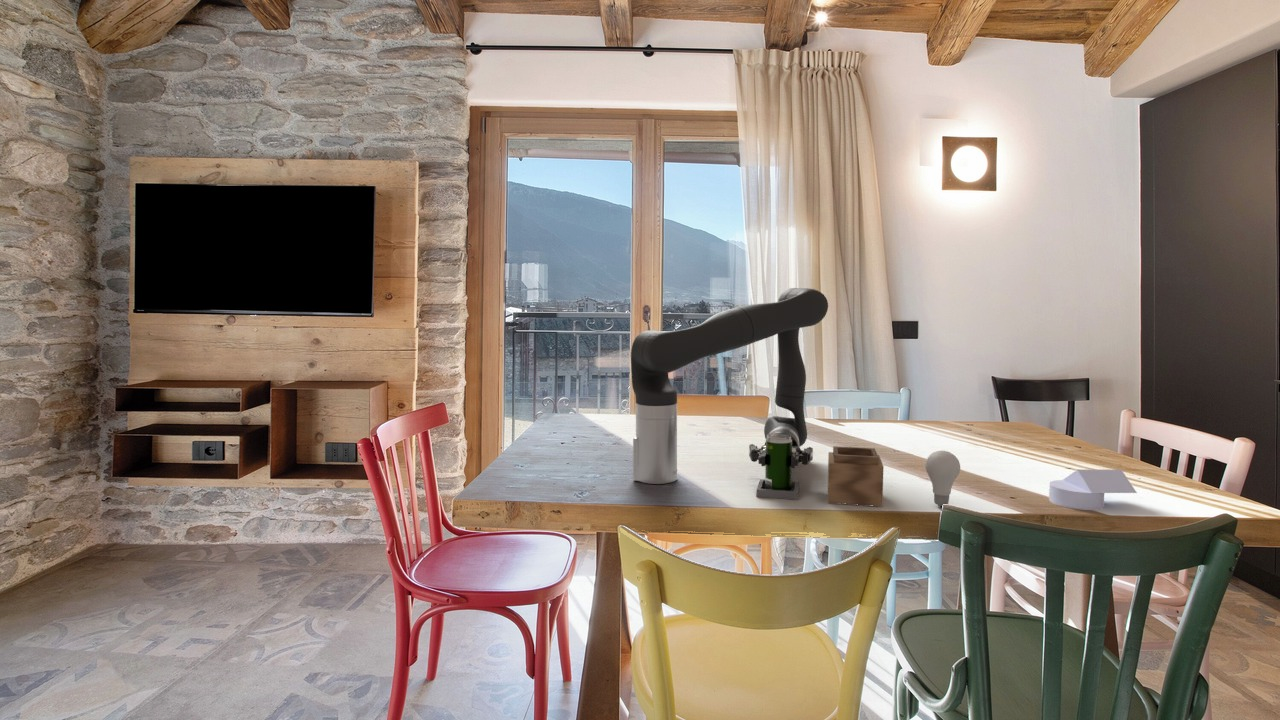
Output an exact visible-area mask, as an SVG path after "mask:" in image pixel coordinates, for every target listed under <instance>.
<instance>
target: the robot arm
mask: <svg viewBox="0 0 1280 720" xmlns="http://www.w3.org/2000/svg"><path fill="white" fill-rule="evenodd" d="M828 309H829V301H828V299H827V297H826V295H824V293H822V292H821V291H819V290H817V289H815V288H808V287H807V288H802V287H790V288H787V289H785V290H783V291H782V293H781V294H780V295H779V297H778V299H777V301H775V302H767V303H766V302H765V303H764V302H763V303H755V304H753V303H752V304H747V305H740V306H736V307H732V308H730V309H726V310H723V311H722V310H721V311H720V312H717V313H715V314H713V315H712V316H710V317H709V318H706V320H705V321H703V322H701V323H700V324H697V325H695V326H692V327H688V328H683V329H677V330H670V331H669V330H668V331H664V330H654V329H653V330H645V331H642V332H639V334H637V336H636V337H635V338H634V340H633V342H632V345H631V351H630V367H631V368H630V369H631V386H632V390H633V394H634V396H635V437H633V439H632V454H633V455H632V460H633V461H632V462H633V464H632V466H633V467H632V468H633V469H632V470H633V472H632V475H633V477H632V480H633V482H634V481H635V482H636V481H637V482H640V483H643V484H651V485H652V484H654V485H655V484H656V485H661V484H663V485H664V484H670V483H673V482H675V481H677V480H678V392H677V390H676V388H674V386H673V385H672V383H671V381H670V379H669V373H672V372H674V371H677V370H679V369H681V368H683V367H686V366H688V365H689V364H692V363H694V362H696V361H698V360H701V359H703V358H706V357H710V356H711V357H712V356H714V355H718V354H723V353H725V352H728V351H733V350H736V349H741V348H742V347H746V346H749V345H751V344H753V343H756V342H759V341H762V340H766V339H768V338H770V337H773V336H777V348H778V349H777V351H778V364H777V365H778V367H777V379H776V389H775V396H774V397H775V399H774V403H775V405H776V406H777V407H779V408H782V409H785V410H787V411H789V412H791V413H792V414H793V417H794V418H792V417H785V416H777V415H776V416H775V415H774V416H771V417H769V418H767V420H766V422H765V424H764V429H763V433H764V438H765V440H766V438H767V435H768V434H773V433H780V434H788V435H790V436H791V439H792V457H791V468H792V469H795V468H796V467H798V466H799V465H800V463H801V464H802V465H804V466H806V465H809V464H810V463H811V462H812V461H813V458H814V457H813V455H814V448H813V447H810V446H809V447H806V448H803V450H802V449H801V447H802V446H803V445H804V444H805V443H806V442H807V438H808V429H807V423H806V418H805V411H804V410H805V408H804V407H805V406H804V402H805V393H806V383H807V374H806V373H807V372H806V368H805V367H806V366H805V364H804V359H803V357H802V353H801V349H800V343H799V333H800V329H802V328H808V327H813V326H815V325H817V324H819V323H820V322H821V321H822V320H823V319H824V318H825V316H826V315H827V313H828ZM748 456H749V458H750V461H751V462H753V463H756V462H758V464H759V465H761V467H766V441H765V442H764V445H762V446H761V447H758V446H757V445H755V444H754V443H750V444H749V446H748Z"/></svg>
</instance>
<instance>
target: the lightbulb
mask: <svg viewBox="0 0 1280 720" xmlns="http://www.w3.org/2000/svg"><path fill="white" fill-rule="evenodd" d="M925 470H926V473H927V476H928V477H929V479H930V481H931V485H932V492H933V503H934V504H935V505H937V506H938V507H939V506H940V508H942V507H941V506H942V505H943V504H948V505H949V502H950V495H951V494H952V493H951V492H952V488H953V484H954V482H955V481H956V479H957V478H958V477H959V474H960V472H961V463H960V460H959V458H958V457H957V456H956V455H955V454H953V453H952V452H950V451H948V450H947V451H946V450H937V451H934V452H932V453H931V454H930V455H929V456H928V457H927V459H926V460H925Z"/></svg>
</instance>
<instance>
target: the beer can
mask: <svg viewBox="0 0 1280 720" xmlns="http://www.w3.org/2000/svg"><path fill="white" fill-rule="evenodd" d="M765 442H766V464H765V466H764V468H765V478H764V479H765V487H764V489H772V490H786V491H792V489H791V485H792V481H793V480H792V477H793V476H792V475H793V474H792V471H793V468H791V457H792V439H791V436H790V435H788V434H780V433H773V434H768V435H767V438H766V439H765Z"/></svg>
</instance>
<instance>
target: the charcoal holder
mask: <svg viewBox="0 0 1280 720" xmlns="http://www.w3.org/2000/svg"><path fill="white" fill-rule="evenodd" d="M799 491H800V481H793V480H792V485H791V491H786V490H772V489H765V478H763V479H762V478H759V481H758V484H757V487H756V498H767V497H768V498H771V499H781V500H782V499H785V500H794V501H795V500H796V501H798V500H799V493H800V492H799Z"/></svg>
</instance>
